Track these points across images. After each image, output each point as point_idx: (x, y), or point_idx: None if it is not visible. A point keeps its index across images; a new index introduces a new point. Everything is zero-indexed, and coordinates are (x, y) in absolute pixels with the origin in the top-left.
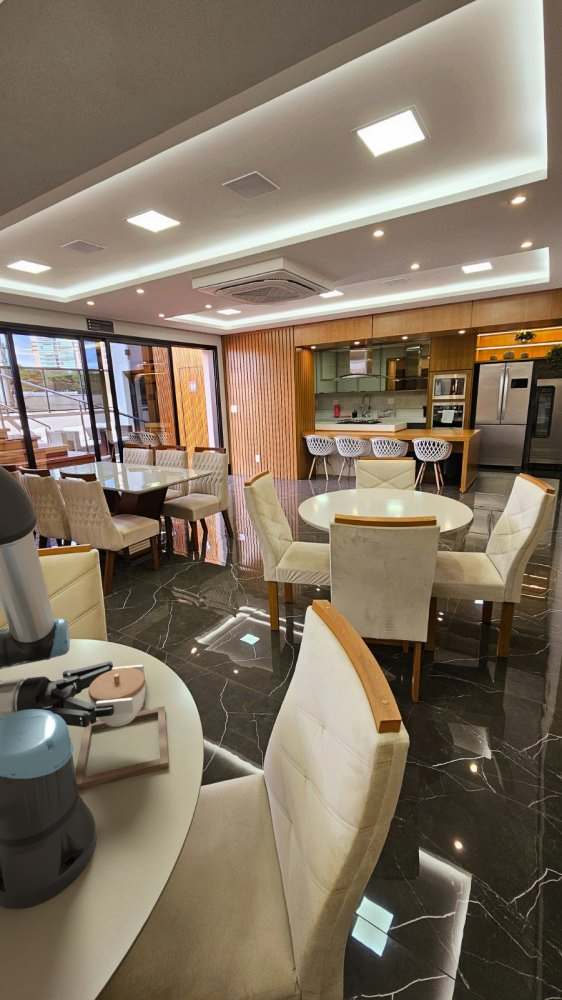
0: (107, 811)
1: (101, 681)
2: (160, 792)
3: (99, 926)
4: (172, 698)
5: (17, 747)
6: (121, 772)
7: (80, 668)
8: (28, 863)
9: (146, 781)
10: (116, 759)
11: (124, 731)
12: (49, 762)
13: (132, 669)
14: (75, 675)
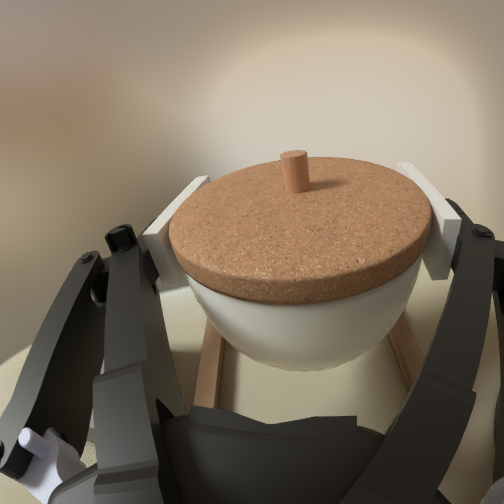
0: (484, 362)
1: (271, 229)
2: (436, 296)
3: None
4: (179, 303)
5: None
6: (418, 354)
7: (22, 368)
8: None
9: (419, 319)
10: (357, 391)
11: (252, 390)
12: None
13: (216, 181)
14: (51, 413)
